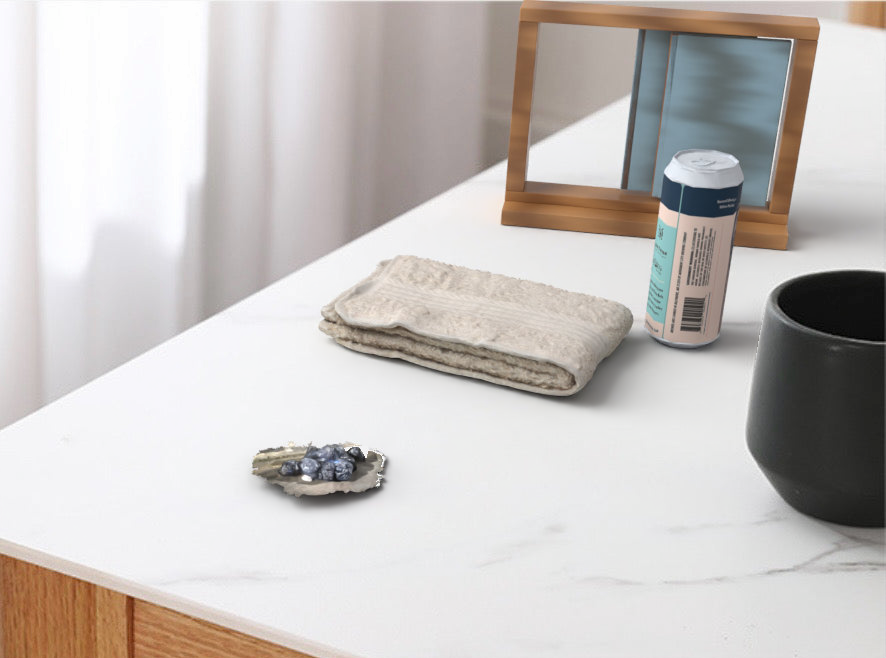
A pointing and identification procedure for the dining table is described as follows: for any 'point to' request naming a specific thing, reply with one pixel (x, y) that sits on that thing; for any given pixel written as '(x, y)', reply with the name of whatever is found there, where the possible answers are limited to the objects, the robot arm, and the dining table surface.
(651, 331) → the beer can
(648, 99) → the window sash
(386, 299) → the washcloth
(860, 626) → the dining table surface
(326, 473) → the blueberries
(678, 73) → the window frame
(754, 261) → the dining table surface
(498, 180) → the dining table surface
